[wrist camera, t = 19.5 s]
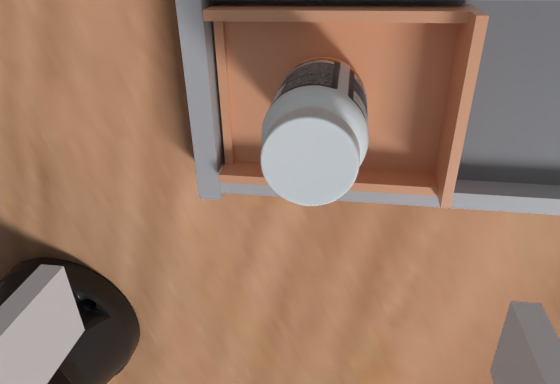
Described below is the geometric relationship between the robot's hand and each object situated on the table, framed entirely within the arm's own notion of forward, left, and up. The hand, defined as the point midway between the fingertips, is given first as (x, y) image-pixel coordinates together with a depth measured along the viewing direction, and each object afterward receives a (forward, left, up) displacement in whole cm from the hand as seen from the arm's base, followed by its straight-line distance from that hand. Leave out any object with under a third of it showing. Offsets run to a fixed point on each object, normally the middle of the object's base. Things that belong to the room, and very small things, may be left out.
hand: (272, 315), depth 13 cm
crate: (+1, +1, -20) cm, 20 cm away
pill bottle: (0, +1, -19) cm, 19 cm away
